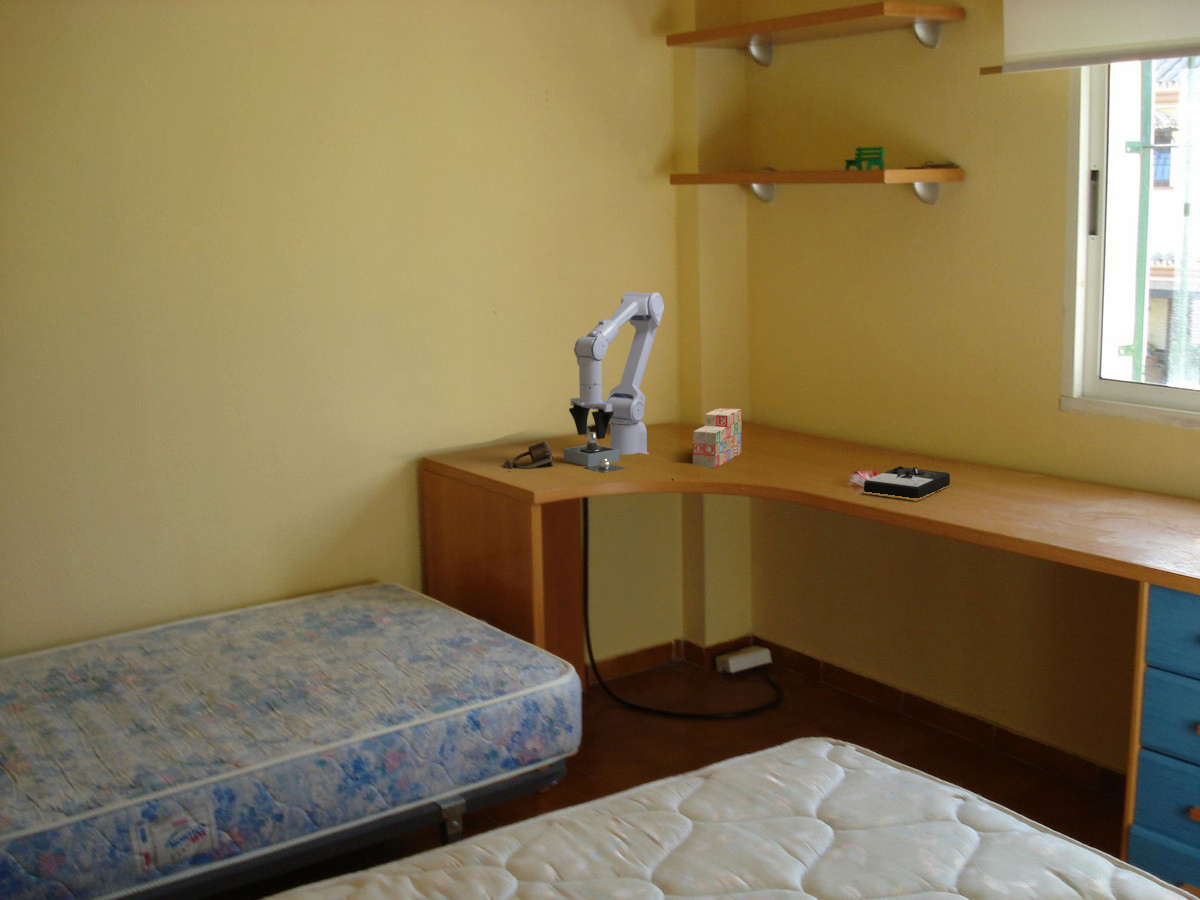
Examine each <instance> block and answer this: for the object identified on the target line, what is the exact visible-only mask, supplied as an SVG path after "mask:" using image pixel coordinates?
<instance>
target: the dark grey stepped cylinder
mask: <svg viewBox="0 0 1200 900" xmlns="http://www.w3.org/2000/svg"><path fill="white" fill-rule="evenodd" d="M585 435H586V444H585V445H587V446H586V447H581V448H580V452H583V453H587V454H591V453H597V452H603V448H602V447H598V446H597V445H598V444H597V443H598V439H597V437H596V431H595V432H594V431H586V434H585Z"/></svg>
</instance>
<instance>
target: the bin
mask: <svg viewBox="0 0 1200 900" xmlns="http://www.w3.org/2000/svg"><path fill="white" fill-rule="evenodd" d="M586 446H587V445H586V444H585V445H580V446H573V447H565V448H563V461H565V462H569V463H573V464H576V465H581V466H584V467H590V466H595V465H599V461H601V459H602V458H607V459H608V461H610V464H611V463H617V462H620V454H619V449H615V448H611V446H610V447H609V446H606V445H601V444H597V446H598V447H602V448H603V452H597V453H591V454H587V453H583V452H580V448H581V447H586Z"/></svg>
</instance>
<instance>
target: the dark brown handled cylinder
mask: <svg viewBox="0 0 1200 900" xmlns="http://www.w3.org/2000/svg"><path fill="white" fill-rule="evenodd" d="M527 456H530V460H531V464H526V465H519V464H517V461H519V460H520V459H521V458H524V457H527ZM503 463H504V464H503V468H505V469H508V470H507V472H508V473H511V471H509V470H514V468H516V469H521V470H522V469H523V470H528V469H533V468H544V467H555V464H554V456H553V453H552V450H551V448H550V445H549V443H548V442H546V441H542V442H539V443H536V444H533V445H530V446H528V451H525V452H522V453H520V454H518V455H517V456H516V457H514V459H513V461H510V460H509V459H506V460H505V461H504V462H503Z"/></svg>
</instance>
